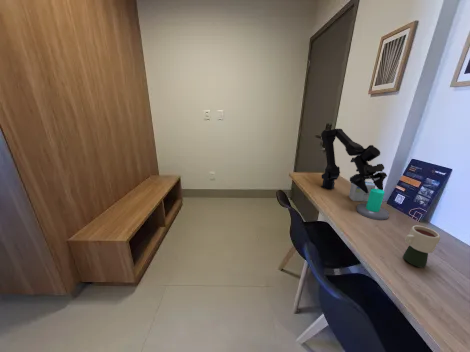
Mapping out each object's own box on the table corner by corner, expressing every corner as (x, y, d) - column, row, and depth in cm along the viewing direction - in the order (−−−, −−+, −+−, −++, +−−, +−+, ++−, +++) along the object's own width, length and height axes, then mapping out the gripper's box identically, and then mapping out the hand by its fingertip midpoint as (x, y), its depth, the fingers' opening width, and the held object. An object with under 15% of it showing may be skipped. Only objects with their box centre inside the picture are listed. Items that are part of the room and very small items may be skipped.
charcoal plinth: (351, 210, 107) (352, 207, 106) (364, 204, 114) (364, 201, 114) (380, 222, 96) (381, 219, 95) (392, 215, 103) (393, 211, 103)
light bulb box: (365, 197, 123) (370, 181, 120) (371, 202, 117) (376, 185, 113) (347, 196, 124) (351, 180, 121) (352, 201, 118) (356, 184, 114)
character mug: (420, 255, 75) (432, 225, 71) (438, 270, 68) (452, 238, 64) (391, 254, 75) (401, 224, 71) (405, 269, 69) (417, 237, 64)
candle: (374, 206, 108) (380, 185, 104) (382, 212, 102) (388, 190, 98) (363, 206, 107) (368, 185, 103) (370, 212, 102) (376, 190, 98)
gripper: (359, 158, 99) (372, 188, 93) (388, 157, 104) (403, 185, 97) (344, 169, 109) (355, 196, 103) (371, 167, 114) (384, 193, 107)
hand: (375, 192), depth 102 cm, fingers open, 9 cm apart
